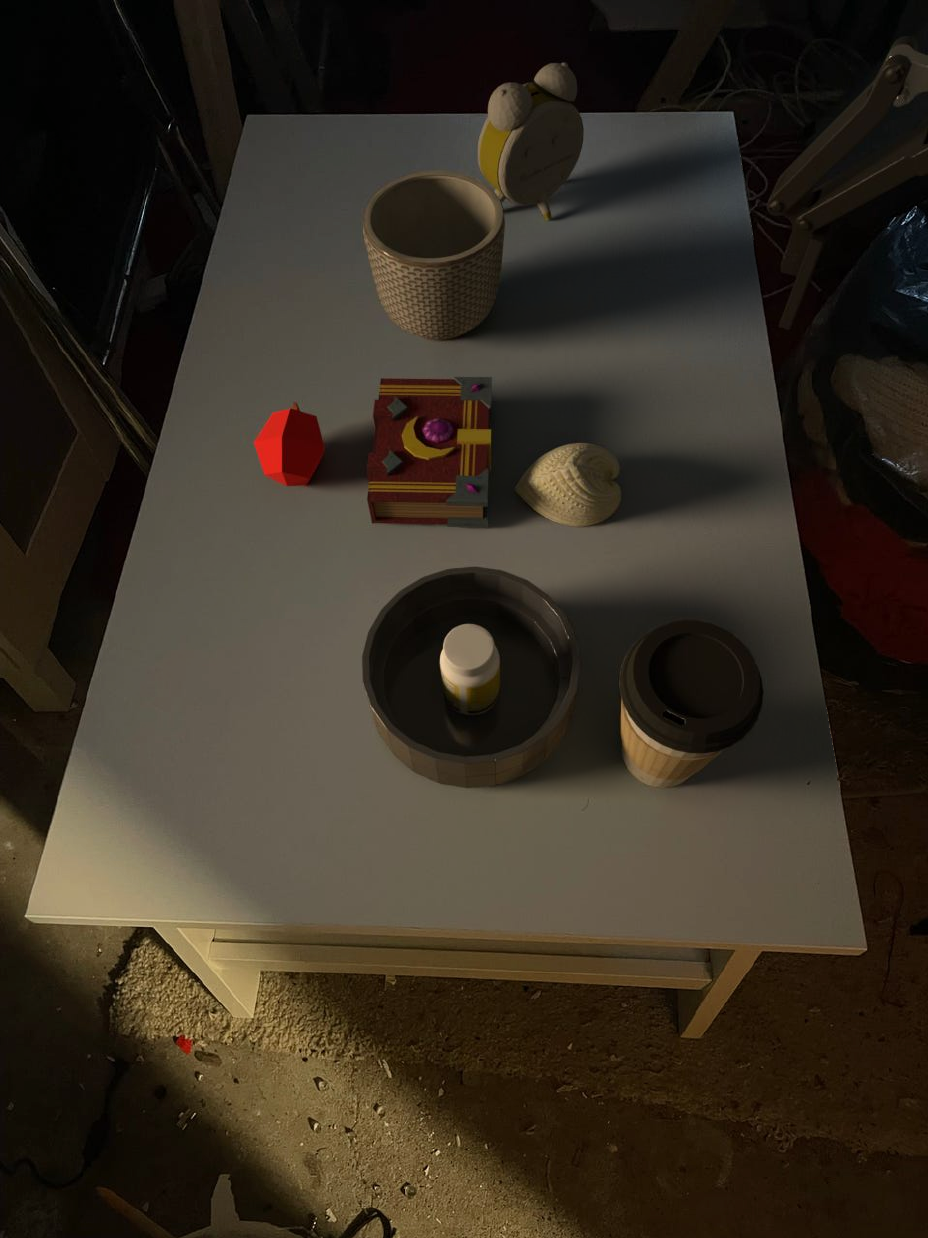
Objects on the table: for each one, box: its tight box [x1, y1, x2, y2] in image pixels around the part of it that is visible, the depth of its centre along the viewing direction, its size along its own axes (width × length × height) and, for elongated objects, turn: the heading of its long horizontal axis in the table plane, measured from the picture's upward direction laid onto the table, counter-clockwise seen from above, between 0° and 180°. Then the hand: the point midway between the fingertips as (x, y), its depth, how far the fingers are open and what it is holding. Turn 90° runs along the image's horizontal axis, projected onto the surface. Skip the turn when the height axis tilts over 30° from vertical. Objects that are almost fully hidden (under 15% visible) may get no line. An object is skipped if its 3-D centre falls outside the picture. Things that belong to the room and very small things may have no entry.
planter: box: [362, 170, 506, 342], centre depth 92 cm, size 14×14×13 cm
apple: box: [253, 401, 326, 487], centre depth 86 cm, size 7×7×8 cm
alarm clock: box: [477, 61, 585, 221], centre depth 99 cm, size 12×7×15 cm, turn 124°
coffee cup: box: [618, 619, 764, 789], centre depth 67 cm, size 10×10×15 cm
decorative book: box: [366, 376, 493, 529], centre depth 86 cm, size 11×16×5 cm
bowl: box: [361, 566, 581, 789], centre depth 73 cm, size 17×17×6 cm
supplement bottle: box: [440, 624, 500, 715], centre depth 72 cm, size 5×5×8 cm
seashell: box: [514, 442, 622, 528], centre depth 83 cm, size 8×8×8 cm
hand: (897, 346), depth 55 cm, fingers open, 13 cm apart
